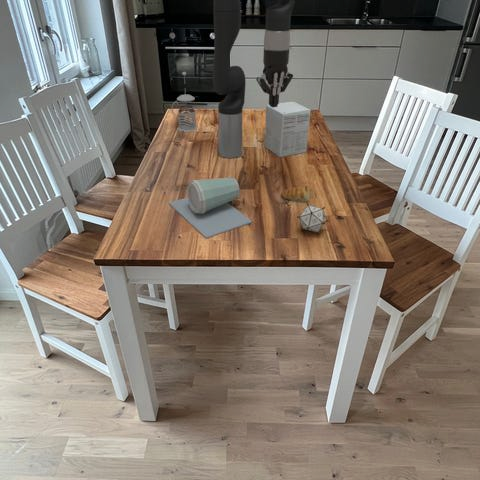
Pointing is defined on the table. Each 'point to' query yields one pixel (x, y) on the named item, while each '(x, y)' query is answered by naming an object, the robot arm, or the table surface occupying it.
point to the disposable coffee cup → (211, 193)
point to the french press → (186, 124)
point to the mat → (211, 218)
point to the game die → (312, 218)
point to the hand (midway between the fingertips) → (273, 106)
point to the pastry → (297, 194)
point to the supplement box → (287, 128)
